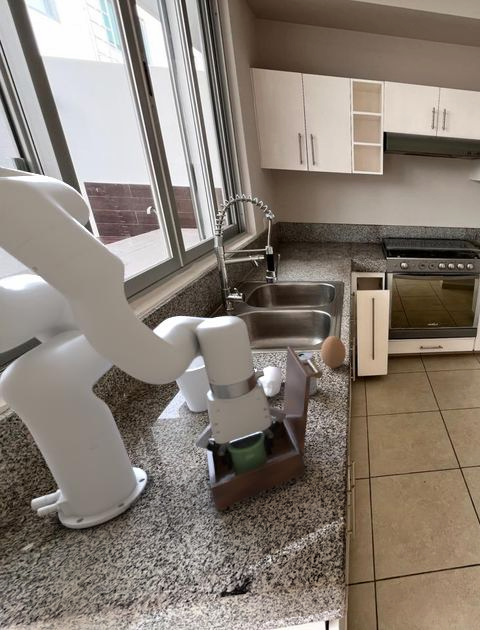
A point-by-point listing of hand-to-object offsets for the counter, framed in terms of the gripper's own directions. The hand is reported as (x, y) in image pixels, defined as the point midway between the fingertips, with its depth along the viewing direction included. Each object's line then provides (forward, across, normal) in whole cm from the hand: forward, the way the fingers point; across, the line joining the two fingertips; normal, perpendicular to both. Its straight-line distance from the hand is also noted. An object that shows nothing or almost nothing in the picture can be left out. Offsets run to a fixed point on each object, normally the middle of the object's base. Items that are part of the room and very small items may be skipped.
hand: (249, 457), depth 69 cm
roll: (+4, -9, -27) cm, 29 cm away
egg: (+4, -30, -32) cm, 44 cm away
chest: (+4, -1, 0) cm, 4 cm away
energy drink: (+4, -18, -22) cm, 29 cm away
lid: (-11, -10, 0) cm, 15 cm away
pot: (+3, 0, 0) cm, 3 cm away
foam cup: (+4, +7, -31) cm, 32 cm away
